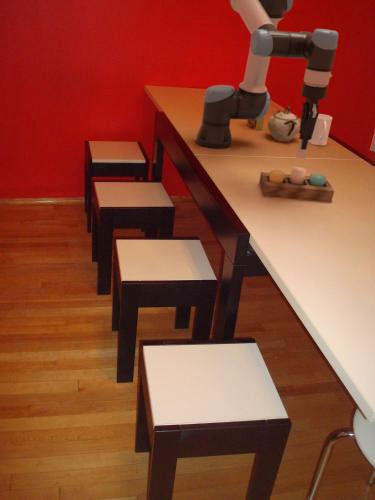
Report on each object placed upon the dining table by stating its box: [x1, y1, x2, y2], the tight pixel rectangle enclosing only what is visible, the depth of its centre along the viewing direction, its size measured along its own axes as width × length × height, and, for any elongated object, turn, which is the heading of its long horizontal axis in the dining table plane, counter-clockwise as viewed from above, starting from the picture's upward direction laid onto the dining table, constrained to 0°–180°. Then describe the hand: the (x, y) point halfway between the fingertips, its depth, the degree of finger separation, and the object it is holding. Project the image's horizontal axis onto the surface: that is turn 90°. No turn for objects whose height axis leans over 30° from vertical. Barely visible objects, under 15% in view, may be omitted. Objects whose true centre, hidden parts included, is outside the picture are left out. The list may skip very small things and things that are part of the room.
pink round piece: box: [289, 166, 307, 185], centre depth 168 cm, size 5×5×5 cm
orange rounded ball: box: [269, 169, 285, 183], centre depth 169 cm, size 5×5×5 cm
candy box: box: [246, 116, 265, 131], centre depth 236 cm, size 9×4×15 cm, turn 23°
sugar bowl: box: [267, 105, 301, 142], centre depth 223 cm, size 20×15×15 cm
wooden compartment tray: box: [258, 171, 335, 203], centre depth 170 cm, size 23×12×4 cm, turn 90°
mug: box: [308, 113, 333, 147], centre depth 222 cm, size 12×8×12 cm
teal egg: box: [309, 173, 327, 187], centre depth 169 cm, size 5×5×5 cm
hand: (300, 157), depth 165 cm, fingers closed
